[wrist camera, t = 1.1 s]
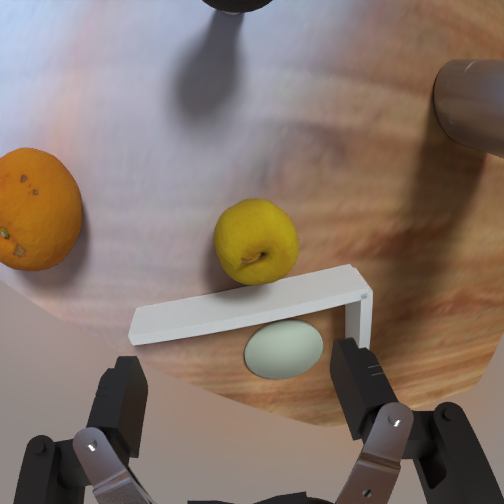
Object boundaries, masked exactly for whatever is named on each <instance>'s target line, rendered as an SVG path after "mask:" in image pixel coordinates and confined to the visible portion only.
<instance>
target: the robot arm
mask: <svg viewBox="0 0 504 504" xmlns="http://www.w3.org/2000/svg"><path fill="white" fill-rule="evenodd" d="M434 104H435V110H436V114H437V117H438V120H439V122H440V124H441V126H442V128H443V129H444V131H445V132H446V134H447V135H448V136H449V137H450V138H451V139H453V140H454V141H456V142H458V143H459V144H463V145H466V146H469V147H472V148H475V149H478V150H481V151H484V152H487V153H490V154H492V155H495V156H498V157H501V158H504V60H486V59H465V60H453V61H451V62H449V63H447V64H446V65H445V66H444V67H443V68H442V69H441V70H440V72H439V74H438V76H437V79H436V82H435V88H434ZM330 374H331V378H332V381H333V384H334V387H335V390H336V392H337V395H338V398H339V401H340V404H341V407H342V409H343V412H344V415H345V418H346V421H347V424H348V427H349V430H350V432H351V435H352V438H353V440H358V439H362V441H363V444H364V446H363V448H362V450H361V452H360V454H359V457H358V459H357V461H356V463H355V465H354V468H353V469H352V472H351V474H350V476H349V477H348V479H347V482H346V483H345V485H344V487H343V489H342V491H341V493H340V494H339V496H338V498H337V500H336V502H335V504H387V503H388V500H389V498H390V496H391V493H392V490H393V488H394V485H395V483H396V481H397V478H398V475H399V472H400V469H401V466H400V461H401V459H413V462H414V465H415V467H416V470H417V473H418V476H419V479H420V482H421V485H422V488H423V491H424V494H425V497H426V501H427V504H504V498H503V496H502V494H501V491H500V488H499V486H498V483H497V481H496V479H495V476H494V474H493V472H492V469H491V467H490V465H489V463H488V460H487V458H486V456H485V454H484V452H483V449H482V447H481V445H480V443H479V441H478V439H477V437H476V435H475V433H474V431H473V429H472V427H471V425H470V423H469V421H468V419H467V417H466V415H465V413H464V411H463V409H462V408H461V407H460V406H458V405H457V404H455V403H452V402H444V403H441V404H439V405H438V406H437V407H436V408H435V410H434V411H413V410H411V409H410V408H409V407H408V406H406V405H404V404H402V403H400V402H399V401H398V399H397V398H396V396H395V394H394V392H393V390H392V388H391V386H390V384H389V382H388V380H387V378H386V376H385V374H384V373H383V370H382V368H381V366H380V365H379V362H378V360H377V358H376V356H375V355H374V354H373V353H372V352H371V351H370V350H368V349H367V348H366V347H364V348H358V346H357V344H356V342H355V340H354V338H353V337H350V338H343V339H337V340H334V343H333V349H332V356H331V362H330ZM147 396H148V385H147V380H146V377H145V375H144V373H143V370H142V367H141V365H140V362H139V360H138V358H137V357H136V356H119V357H118V358H117V361H116V364H115V368H112V369H111V368H108V369H107V371H106V372H105V373H104V374H103V375H102V377H101V379H100V382H99V385H98V390H97V392H96V397H95V398H94V402H93V405H92V409H91V412H90V416H89V419H88V423H87V426H86V428H84V429H82V430H80V431H79V432H78V433H77V434H76V435H75V437H74V439H70V440H65V441H59V442H53V440H52V439H51V438H49V437H48V436H45V435H38V436H36V437H34V438H32V439H31V440H30V441H29V443H28V444H27V447H26V451H25V455H24V458H23V463H22V466H21V470H20V474H19V479H18V483H17V488H16V493H15V498H14V503H13V504H83V503H84V494H85V486H88V485H92V486H93V488H94V490H93V494H94V496H95V498H96V500H97V502H98V503H99V504H156V502H155V501H154V500H153V499H152V498H151V496H150V495H149V494H148V492H147V491H146V490H145V488H144V487H143V486H142V484H141V483H140V481H139V480H138V479H137V477H136V476H135V474H134V473H133V471H132V470H131V469H130V467H129V466H128V463H129V457H132V458H138V456H139V448H140V441H141V433H142V427H143V421H144V414H145V407H146V402H147ZM188 504H233V503H227V502H222V501H188ZM254 504H334V503H331V502H329V501H326V500H323V499H319V498H312V497H307V496H306V492H299V493H293V494H286V495H279V496H275V497H272V498H269V499H266V500H263V501H260V502H257V503H254Z"/></svg>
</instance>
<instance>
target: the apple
mask: <svg viewBox="0 0 504 504" xmlns="http://www.w3.org/2000/svg"><path fill="white" fill-rule="evenodd" d="M214 247H215V250H216V253H217V256H218V259H219V262H220V264H221V266H222V268H223V269H224V271H225V272H226V273H227V274H228V276H230V277H231V278H232V279H234V280H236V281H237V282H240V283H243V284H246V285H263V284H268V283H273V282H276V281H278V280H280V279H282V278H283V277H285V276H286V275H287V274H288V273H289V272H290V271H291V270H292V268H293V267H294V265H295V264H296V261H297V258H298V253H299V241H298V235H297V231H296V229H295V226H294V224H293V222H292V220H291V219H290V217H289V216H288V215H287V214H286V213H285V212H284V211H283V210H281V209H280V208H279V207H277V206H276V205H275V204H273V203H272V202H270V201H268V200H265V199H246V200H243V201H241V202H239V203H238V204H236V205H234V206H232V207H230V208H229V209H227V210H226V211H224V212H223V213H222V215H221V216H220V218H219V220H218V222H217V224H216V227H215V231H214Z"/></svg>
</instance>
